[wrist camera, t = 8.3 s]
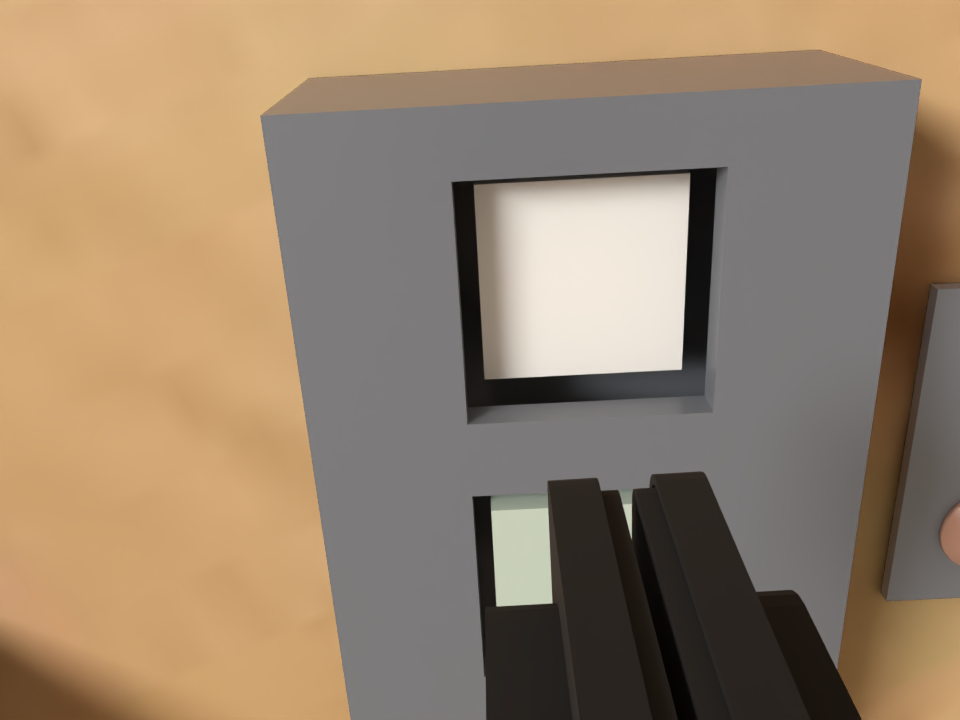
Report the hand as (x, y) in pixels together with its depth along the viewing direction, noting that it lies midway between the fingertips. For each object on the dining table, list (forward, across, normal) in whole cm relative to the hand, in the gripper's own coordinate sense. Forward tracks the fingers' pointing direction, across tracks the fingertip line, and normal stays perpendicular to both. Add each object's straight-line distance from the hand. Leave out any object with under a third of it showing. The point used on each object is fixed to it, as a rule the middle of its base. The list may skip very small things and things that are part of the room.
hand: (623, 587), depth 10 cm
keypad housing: (+14, 0, +7) cm, 16 cm away
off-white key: (+13, -1, 0) cm, 13 cm away
